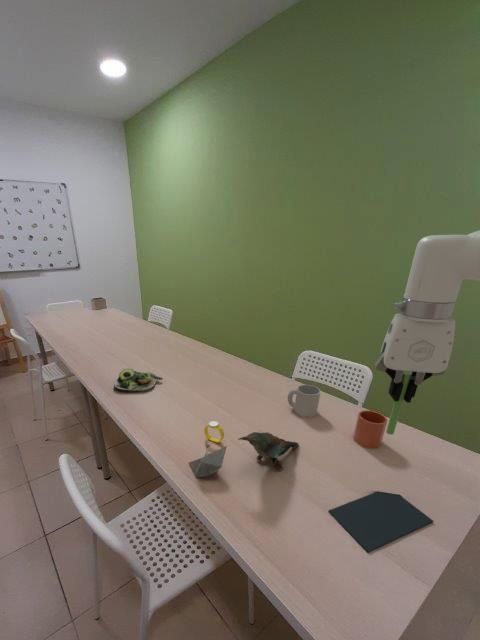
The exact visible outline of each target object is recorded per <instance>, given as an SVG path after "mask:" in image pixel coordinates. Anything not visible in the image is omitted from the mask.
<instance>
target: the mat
mask: <svg viewBox="0 0 480 640" xmlns="http://www.w3.org/2000/svg"><path fill="white" fill-rule="evenodd" d="M328 513H329V514H330V515H331V516H332V517H333V518H334V519H335V520H336V521H337V522H338V524H339V525H340V526H341V527H342V528H343V529H344V530H345V531H346V532H347V533H348V534H349V535H350V536H351V537H352V538H353V539H354V540H355V541H356V542H357V543H358V544H359V545H360V547H362V548H363V549H364V551H365V552H366V553H367V554H368V553H370V552H372V551H375V550H377V549H379V548H381V547H383V546H385V545H387V544H390V543H392V542H394V541H396V540H398V539H400V538H402V537H405V536H407V535H408V534H411V533H413V532H415V531H418V530H419V529H422V528H424V527H426V526H428V525H429V524H432V523H434V520H433V518H431V517H429V516H427V514H425V513H424V512H423V511H421V510H420V509H419V508H417V507H416V506H415V505H413V504H412V503H411V502H409V500H407V499H406V498H405V497H403V496H402V495H400V494H397V493H392V492H385V491H379V490H378V491H374V492H372V493H370V494H367V495H365V496H362V497H360V498H357V499H355V500H352V501H349V502H346V503H344V504H342V505H341V504H340V505H339V506H337V507H333V508H331V509H329V510H328Z"/></svg>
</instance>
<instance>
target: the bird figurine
mask: <svg viewBox="0 0 480 640" xmlns="http://www.w3.org/2000/svg"><path fill="white" fill-rule="evenodd" d="M238 440H243V441H247V442H249V444H250V445H251V446H253V449H254V450H255V451H256V453H257V454H258V455H257V457H256V460H257V461H258V462H262V459H263V458H268V459H269V460H270V461H271V463H272V464H271V465H272V466H273V468H275V469H276V471H277V472H281V471H282V470H284V467H283V466H282V464H281V462H280V461H279V459H278V458H279V457H281V456H283V455H285V454H286V453H287V452H288V450H289V449H291V448H292V449H295V448H297V447H299V446H300V445H299V443H298V442H296V441H288V440H285V439H283V438H280V437H279V436H276V435H273V434H272V433H270V432H259V431H254V432H251V433H249V434H247V435H246V436H242V437H239V438H237V441H238Z"/></svg>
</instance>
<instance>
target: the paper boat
mask: <svg viewBox="0 0 480 640" xmlns="http://www.w3.org/2000/svg"><path fill="white" fill-rule="evenodd" d="M209 447H211V444H205V451H206V452H205V454H204V456H203V457H201V458H198V459H195V460H192V461H190V462H188V465H189V467H190V469H191V471H192V472H193V475H194V477H195V478H204V477H209V476H211V475H214V474H215V473H216V472H217V471H218V470H220V469H221V468H222V467H223V463H224V458H225V455H226V451H227V447H228V445H226V446H223V447H221V448H219V449H217V450H215V451H213V452H211V453H208V450H207V449H208V448H209Z"/></svg>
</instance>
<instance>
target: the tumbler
mask: <svg viewBox="0 0 480 640" xmlns="http://www.w3.org/2000/svg"><path fill="white" fill-rule="evenodd" d="M387 425H388V418H387V417H386V416H385V415H384V414H383V413H380V412H377V411H374V410H369V409H368V410H367V409H366V410H360V411H358V414H357V418H356V423H355V427H354V430H353V435H352V438H353V441H354V442H355V443H356V444H358V445H359V446H362V447H364V448H368V449H379V447H381V445H382V442H383V439H384V434H385V432H386V429H387Z"/></svg>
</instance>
